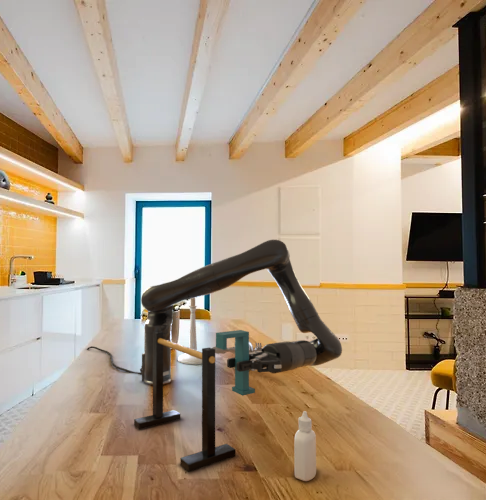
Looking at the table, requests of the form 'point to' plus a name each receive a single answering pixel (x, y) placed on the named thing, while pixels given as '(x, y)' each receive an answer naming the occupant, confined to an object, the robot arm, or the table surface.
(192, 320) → the candlestick
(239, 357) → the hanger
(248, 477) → the table surface
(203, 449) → the rack
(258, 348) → the ornate silver scepter
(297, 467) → the eye dropper bottle
